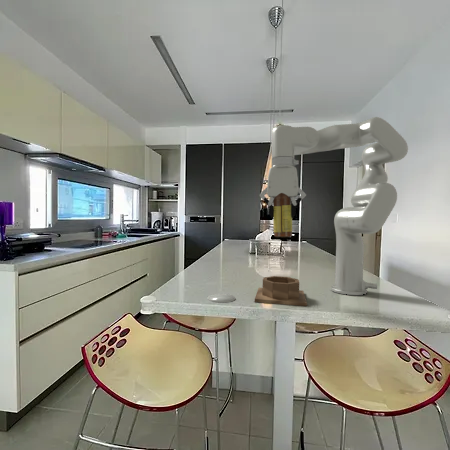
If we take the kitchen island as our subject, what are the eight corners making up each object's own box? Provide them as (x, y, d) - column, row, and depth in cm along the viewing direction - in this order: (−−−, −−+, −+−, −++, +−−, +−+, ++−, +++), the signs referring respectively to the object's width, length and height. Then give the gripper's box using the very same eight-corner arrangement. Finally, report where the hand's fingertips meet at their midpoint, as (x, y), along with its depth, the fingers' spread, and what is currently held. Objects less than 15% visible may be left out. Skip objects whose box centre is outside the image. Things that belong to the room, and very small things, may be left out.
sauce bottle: (293, 236, 98) (294, 178, 98) (291, 237, 92) (292, 176, 92) (274, 236, 101) (275, 179, 100) (270, 237, 95) (271, 177, 94)
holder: (303, 293, 103) (303, 276, 103) (306, 306, 87) (307, 286, 87) (258, 290, 106) (259, 274, 106) (254, 302, 90) (254, 283, 90)
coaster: (236, 297, 97) (236, 294, 97) (232, 304, 88) (232, 302, 88) (211, 295, 99) (211, 293, 99) (204, 302, 90) (204, 300, 90)
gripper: (308, 165, 98) (307, 218, 98) (258, 167, 101) (257, 217, 102) (310, 161, 91) (309, 217, 91) (255, 162, 94) (255, 217, 95)
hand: (282, 217), depth 96 cm, fingers closed on sauce bottle, 6 cm apart
